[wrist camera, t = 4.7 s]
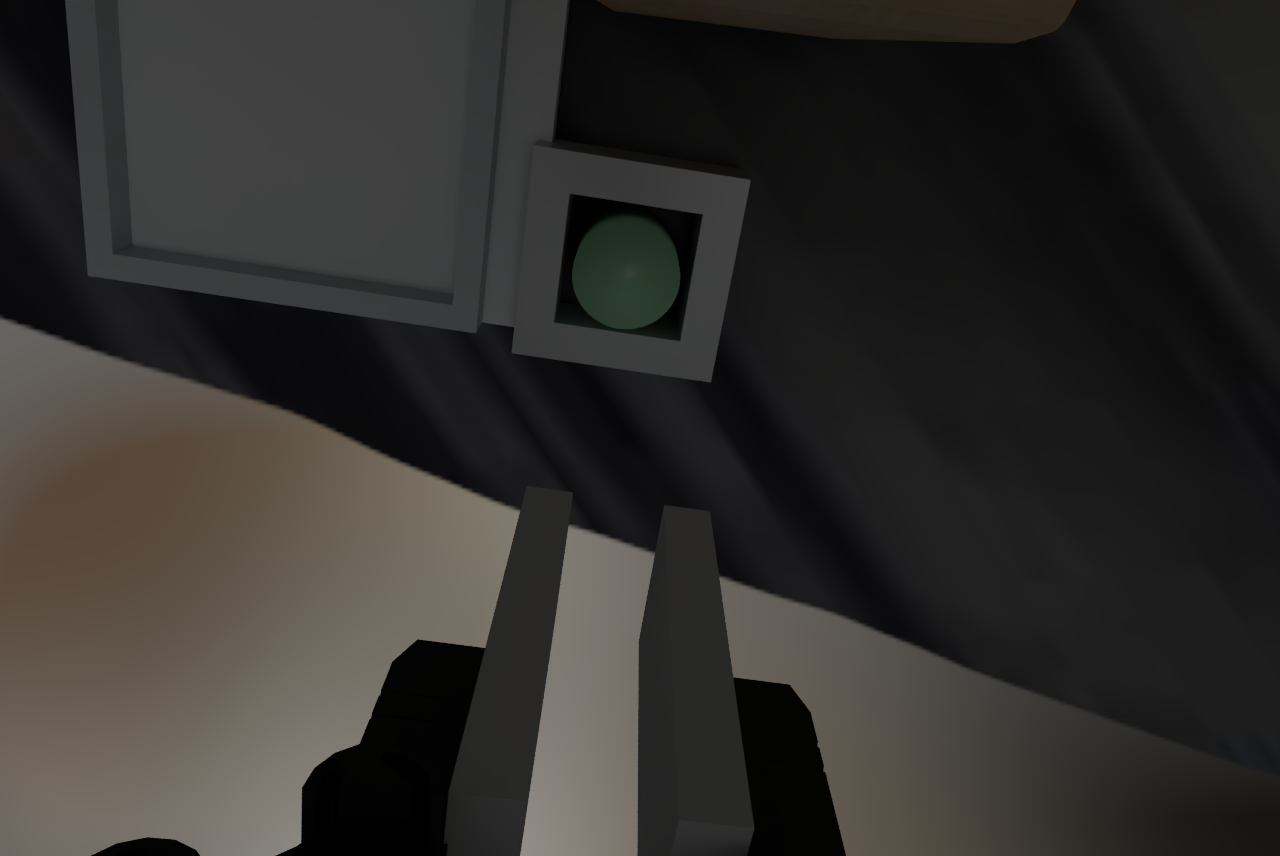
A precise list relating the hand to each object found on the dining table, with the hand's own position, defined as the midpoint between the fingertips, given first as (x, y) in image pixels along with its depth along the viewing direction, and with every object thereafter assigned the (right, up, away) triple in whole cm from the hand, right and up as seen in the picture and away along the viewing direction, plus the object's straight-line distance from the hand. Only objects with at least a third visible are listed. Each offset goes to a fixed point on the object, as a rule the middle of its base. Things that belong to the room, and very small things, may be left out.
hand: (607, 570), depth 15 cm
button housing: (0, +10, +22) cm, 24 cm away
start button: (0, +9, +22) cm, 24 cm away
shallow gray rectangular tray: (-11, +15, +20) cm, 28 cm away
